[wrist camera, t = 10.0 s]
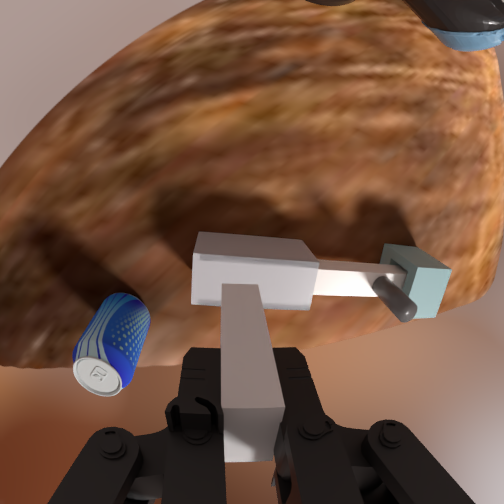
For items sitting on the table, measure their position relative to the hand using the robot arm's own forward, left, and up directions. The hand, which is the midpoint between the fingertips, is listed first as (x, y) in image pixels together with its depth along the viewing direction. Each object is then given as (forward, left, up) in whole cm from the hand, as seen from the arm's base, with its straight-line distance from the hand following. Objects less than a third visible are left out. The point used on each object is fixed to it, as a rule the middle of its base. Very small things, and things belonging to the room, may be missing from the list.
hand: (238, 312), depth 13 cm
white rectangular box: (+9, +4, -30) cm, 32 cm away
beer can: (+20, -15, -30) cm, 39 cm away
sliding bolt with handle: (+9, +19, -26) cm, 33 cm away
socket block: (+9, +29, -30) cm, 42 cm away
